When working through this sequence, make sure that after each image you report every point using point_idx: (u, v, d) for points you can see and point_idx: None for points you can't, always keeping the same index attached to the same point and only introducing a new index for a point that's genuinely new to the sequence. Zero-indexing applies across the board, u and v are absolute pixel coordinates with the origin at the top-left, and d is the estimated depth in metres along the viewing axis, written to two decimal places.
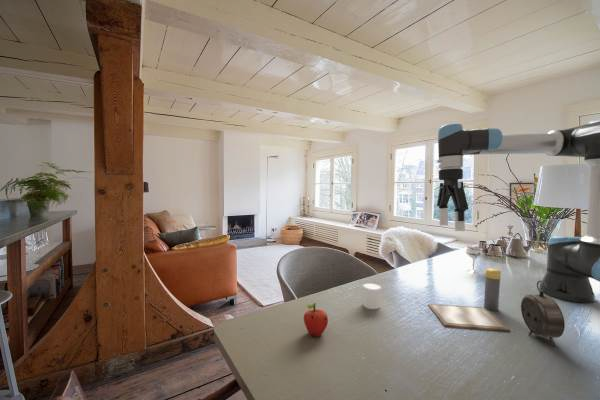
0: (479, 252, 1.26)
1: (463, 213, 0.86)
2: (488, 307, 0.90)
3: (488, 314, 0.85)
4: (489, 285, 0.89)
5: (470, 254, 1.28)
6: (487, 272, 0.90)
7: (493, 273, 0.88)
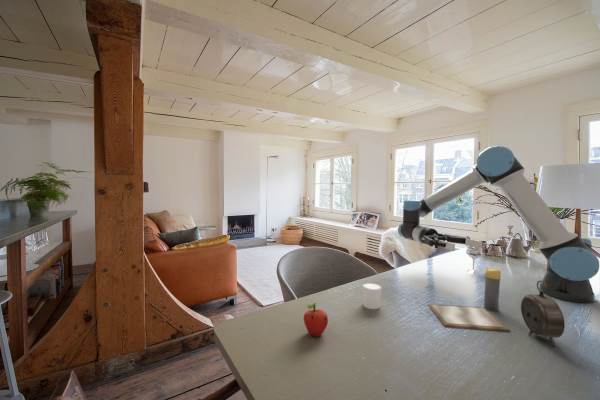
0: (479, 252, 1.26)
1: (438, 242, 1.02)
2: (488, 307, 0.90)
3: (488, 314, 0.85)
4: (489, 285, 0.89)
5: (470, 254, 1.28)
6: (487, 272, 0.90)
7: (493, 273, 0.88)
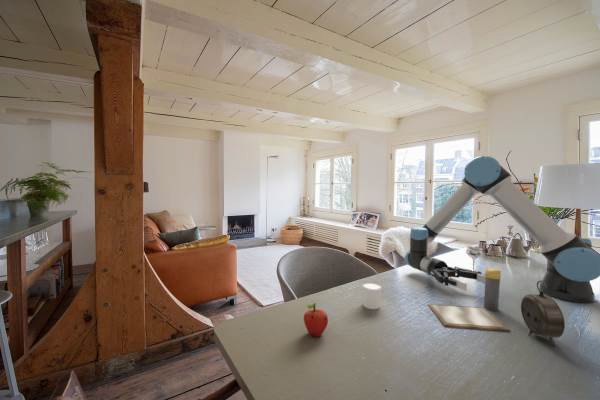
0: (479, 252, 1.26)
1: (448, 280, 0.97)
2: (488, 307, 0.90)
3: (488, 314, 0.85)
4: (489, 285, 0.89)
5: (470, 254, 1.28)
6: (487, 272, 0.90)
7: (493, 273, 0.88)
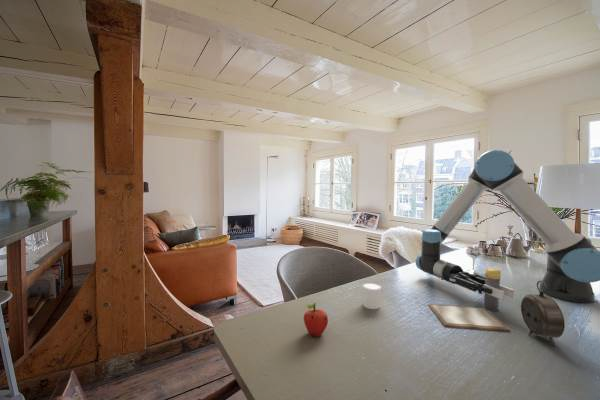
0: (479, 252, 1.26)
1: (482, 287, 0.90)
2: (488, 307, 0.90)
3: (488, 314, 0.85)
4: (489, 285, 0.89)
5: (470, 254, 1.28)
6: (487, 272, 0.90)
7: (493, 273, 0.88)
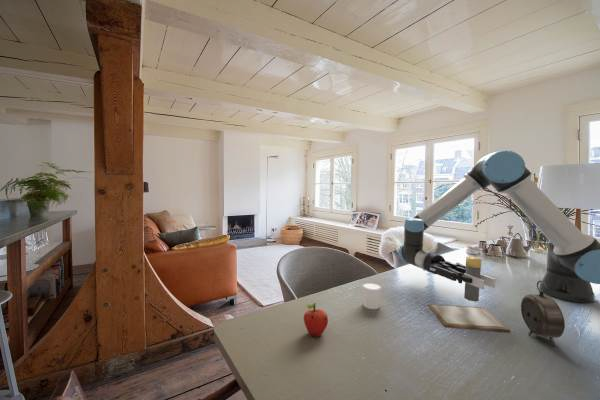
0: (479, 252, 1.26)
1: (462, 276, 0.85)
2: (468, 297, 0.85)
3: (488, 314, 0.85)
4: (470, 274, 0.84)
5: (470, 254, 1.28)
6: (467, 260, 0.85)
7: (473, 261, 0.83)
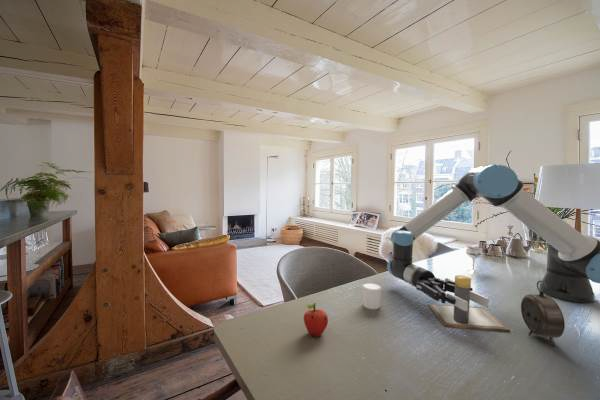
0: (479, 252, 1.26)
1: (445, 296, 0.80)
2: (457, 319, 0.80)
3: (488, 314, 0.85)
4: (458, 295, 0.80)
5: (470, 254, 1.28)
6: (456, 280, 0.80)
7: (462, 281, 0.79)
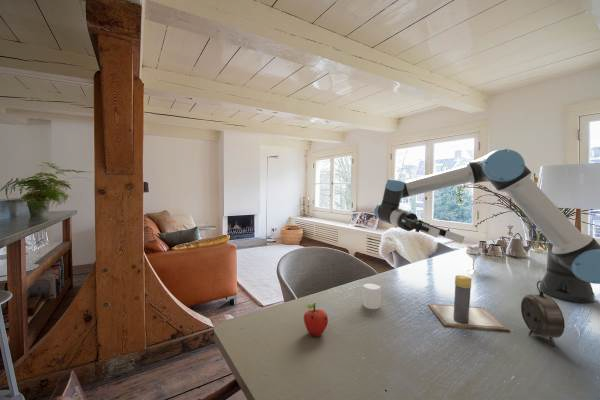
0: (479, 252, 1.26)
1: (421, 226, 0.91)
2: (457, 319, 0.80)
3: (488, 314, 0.85)
4: (459, 295, 0.79)
5: (470, 254, 1.28)
6: (456, 280, 0.80)
7: (463, 281, 0.79)
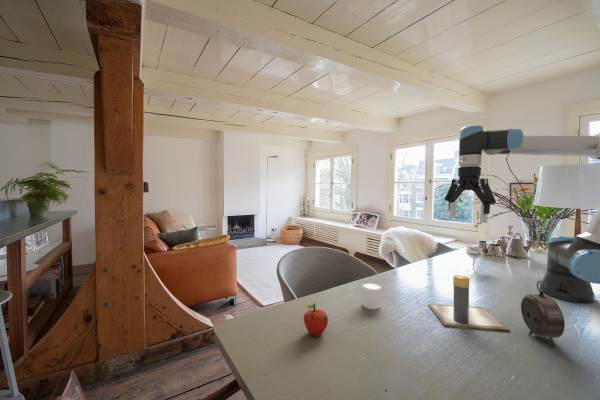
0: (479, 252, 1.26)
1: (489, 207, 0.96)
2: (457, 319, 0.80)
3: (488, 314, 0.85)
4: (457, 295, 0.80)
5: (470, 254, 1.28)
6: (454, 280, 0.80)
7: (460, 281, 0.79)
